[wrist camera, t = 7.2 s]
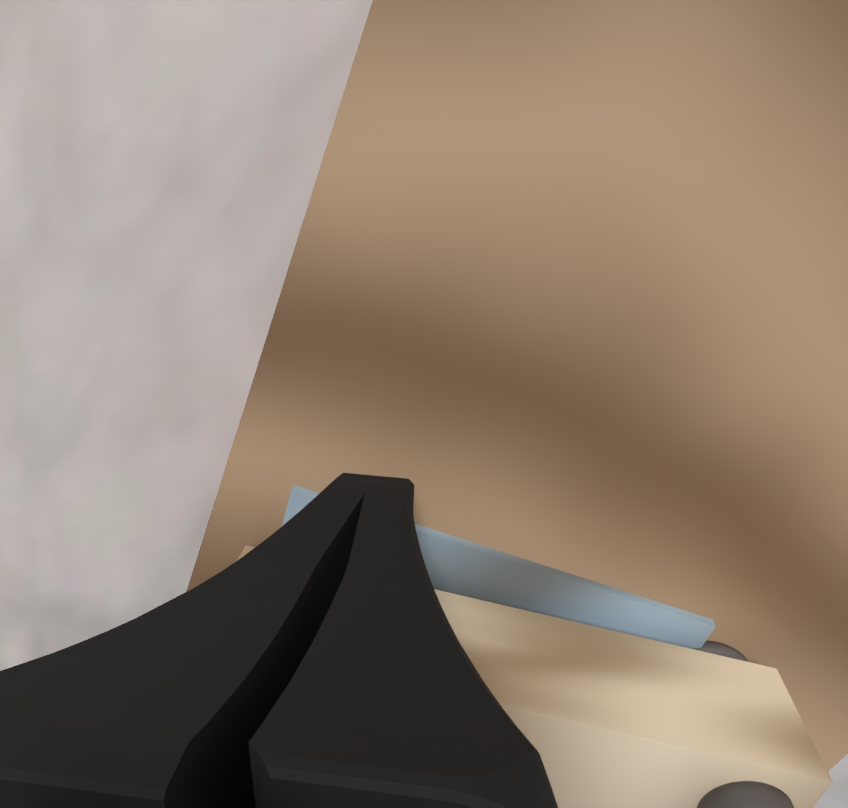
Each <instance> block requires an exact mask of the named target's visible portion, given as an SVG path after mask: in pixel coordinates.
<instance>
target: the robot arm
mask: <svg viewBox="0 0 848 808" xmlns="http://www.w3.org/2000/svg"><path fill="white" fill-rule="evenodd" d="M413 507H414V484H413V483H412V482H411V481H410V480H409V479H407V478H396V477H385V476H374V475H362V474H351V473H342V474H341V475H339V476H338V477H337V478H336V479H335V480H334V481H332V482H331V483H330V484H329V485H328V486H327V487H326V488H325V489H324V490H323V491H321V492H320V493H319V494H318V495H317V496H316V497H315V498H314V499H313V500H312V501H311V502H309V503H308V504H307V505H306V506H305V507H304V508H303V509H302V510H300V511H299V512H298V513H297V514H296V515H295V516H293V517H292V518H291V519H290V520H289V521H288V522H286V523H285V524H284V525H283V526H282V527H280V528H279V529H278V530H277V531H276V532H274V533H273V534H272V535H271V536H269V537H268V538H267V539H266V540H264V541H263V542H262V543H260V544H259V545H258V546H256V547H255V548H254V549H252V550H251V551H250V552H248V553H247V554H246V555H244V556H243V557H242V558H240V559H239V560H237V561H236V562H235V563H233V564H232V565H230V566H229V567H227V568H225V569H224V570H222V571H221V572H219V573H218V574H216V575H214V576H213V577H211V578H209V579H208V580H206V581H205V582H203V583H201V584H200V585H198V586H196V587H195V588H193V589H191V590H189V591H188V592H186V593H184V594H182V595H180V596H178V597H176V598H174V599H172V600H170V601H169V602H167V603H165V604H163V605H161V606H159V607H157V608H155V609H153V610H151V611H149V612H147V613H145V614H143V615H142V616H140V617H138V618H135V619H133V620H131V621H129V622H127V623H125V624H122V625H120V626H118V627H116V628H113V629H111V630H109V631H107V632H104V633H102V634H100V635H97V636H95V637H92V638H90V639H88V640H85V641H83V642H80V643H78V644H75V645H73V646H70V647H68V648H65V649H63V650H60V651H57V652H55V653H52V654H49V655H46V656H43V657H40V658H38V659H35V660H32V661H29V662H26V663H23V664H20V665H17V666H14V667H11V668H8V669H5V670H2V671H0V808H558V806H557V803H556V800H555V796H554V793H553V790H552V787H551V784H550V782H549V779H548V776H547V773H546V770H545V768H544V765H543V762H542V759H541V757H540V754H539V752H538V751H537V750H536V748H535V747H534V746H533V745H532V744H531V742H530V741H529V740H528V739H527V738H526V737H525V735H524V734H523V733H522V732H521V731H520V729H519V728H518V727H517V726H516V724H515V723H514V722H513V721H512V719H511V718H510V717H509V716H508V714H507V713H506V712H505V711H504V709H503V708H502V706H501V705H500V704H499V702H498V701H497V700H496V698H495V697H494V695H493V694H492V693H491V691H490V690H489V688H488V687H487V686H486V684H485V683H484V681H483V680H482V678H481V676H480V675H479V673H478V672H477V670H476V668H475V667H474V665H473V663H472V662H471V660H470V659H469V657H468V655H467V654H466V652H465V651H464V649H463V647H462V646H461V644H460V642H459V641H458V639H457V637H456V635H455V633H454V631H453V629H452V627H451V625H450V623H449V621H448V619H447V617H446V615H445V613H444V611H443V609H442V606H441V604H440V602H439V600H438V597H437V595H436V593H435V590H434V588H433V585H432V583H431V580H430V577H429V574H428V571H427V568H426V565H425V562H424V559H423V556H422V553H421V549H420V545H419V541H418V537H417V533H416V528H415V523H414V516H413Z"/></svg>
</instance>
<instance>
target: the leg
mask: <svg viewBox="0 0 848 808" xmlns="http://www.w3.org/2000/svg"><path fill="white" fill-rule="evenodd" d="M254 548H255V547H251V546H246V545H245V547H244V549H243V551H242V552H241V554H240V556H239V558H238V559H237V560H239V559H240V558H242V557H243V556H244V555H246V554H247V553H248V552H250V551H251V550H252V549H254ZM434 590H435V593H436V595H437V597H438V600H439V602H440V604H441V606H442V609H443V611H444V613H445V615H446V617H447V619H448V621H449V623H450V625H451V627H452V629H453V631H454V633H455V635H456V637H457V639H458V641H459V642H460V644H461V646H462V647H463V649H464V651H465V652H466V654H467V655H468V657H469V659H470V660H471V662H472V663H473V665H474V667H475V668H476V670H477V672H478V673H479V675H480V676H481V678H482V680H483V681H484V683H485V684H486V686H487V687H488V688H489V690H490V691H491V693H492V694H493V695H494V697H495V698H496V700H497V701H498V702H499V704H500V705H501V706H502V708H503V709H504V711H505V712H506V713H507V714H508V716H509V717H510V718H511V719H512V721H513V722H514V723H515V724H516V726H517V727H518V728H519V729H520V731H521V732H522V733H523V734H524V735H525V737H526V738H527V739H528V740H529V741H530V742H531V744H532V745H533V746H534V747H535V748H536V750H537V751H538V752H539V754H540V757H541V759H542V762H543V765H544V768H545V770H546V773H547V776H548V779H549V782H550V784H551V787H552V790H553V793H554V796H555V800H556V803H557V806H558V808H813V807H814V805H815V804H816V803H817V801H818V800H819V799H820V797H821V796H822V795H823V793H824V792H825V791H826V789H827V788H828V787H829V785H830V784H831V783H832V780H831V778H830V776H829V774H828V772H827V770H826V768H825V766H824V764H823V762H822V760H821V757H820V755H819V753H818V751H817V749H816V747H815V745H814V743H813V741H812V739H811V737H810V735H809V733H808V731H807V729H806V727H805V725H804V723H803V721H802V719H801V717H800V715H799V713H798V711H797V709H796V707H795V705H794V703H793V701H792V699H791V697H790V695H789V693H788V690H787V688H786V686H785V684H784V682H783V680H782V678H781V676H780V674H779V672H778V670H777V669H776V668H772V667H768V666H764V665H759V664H755V663H751V662H746V661H742V660H738V659H733V658H729V657H725V656H720V655H716V654H712V653H707V652H703V651H699V650H695V649H690V648H686V647H682V646H677V645H673V644H669V643H664V642H660V641H656V640H651V639H647V638H643V637H639V636H634V635H630V634H626V633H621V632H617V631H613V630H608V629H604V628H600V627H595V626H591V625H587V624H582V623H578V622H574V621H570V620H565V619H561V618H557V617H552V616H548V615H544V614H539V613H535V612H531V611H526V610H522V609H518V608H514V607H509V606H505V605H501V604H496V603H492V602H488V601H483V600H479V599H475V598H470V597H466V596H462V595H457V594H453V593H449V592H445V591H440V590H436V589H434Z"/></svg>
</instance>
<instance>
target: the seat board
mask: <svg viewBox="0 0 848 808" xmlns="http://www.w3.org/2000/svg"><path fill="white" fill-rule="evenodd" d="M342 473H351V474H362V475H374V476H385V477H396V478H407V479H409V480H410V481H411V482H412V483H413V484H414V507H413V516H414V523H415V528H416V533H417V537H418V541H419V545H420V549H421V553H422V556H423V559H424V562H425V565H426V568H427V571H428V574H429V577H430V580H431V583H432V585H433V588H434V589H436V590H440V591H445V592H449V593H453V594H457V595H462V596H466V597H470V598H475V599H479V600H483V601H488V602H492V603H496V604H501V605H505V606H509V607H514V608H518V609H522V610H526V611H531V612H535V613H539V614H544V615H548V616H552V617H557V618H561V619H565V620H570V621H574V622H578V623H582V624H587V625H591V626H595V627H600V628H604V629H608V630H613V631H617V632H621V633H626V634H630V635H634V636H639V637H643V638H647V639H651V640H656V641H660V642H664V643H669V644H673V645H677V646H682V647H686V648H690V649H695V650H699V651H703V652H707V653H712V654H716V655H720V656H725V657H729V658H733V659H738V660H742V661H746V662H751V663H755V664H759V665H764V666H768V667H772V668H776V669H777V670H778V672H779V674H780V676H781V678H782V680H783V682H784V684H785V686H786V688H787V690H788V693H789V695H790V697H791V699H792V701H793V703H794V705H795V707H796V709H797V711H798V713H799V715H800V717H801V719H802V721H803V723H804V725H805V727H806V729H807V731H808V733H809V735H810V737H811V739H812V741H813V743H814V745H815V747H816V749H817V751H818V753H819V755H820V757H821V760H822V762H823V764H824V766H825V768H826V770H827V772H828V771H829V770H830V769H831V768H832V767H833V766H834V765H835V764H837V763H838V762H839V761H840V760H841V759H842V758H843V757H844V756H845V755H847V754H848V0H373V2H372V5H371V8H370V11H369V15H368V18H367V21H366V24H365V27H364V30H363V34H362V37H361V40H360V43H359V46H358V50H357V53H356V56H355V59H354V62H353V65H352V69H351V72H350V75H349V78H348V81H347V84H346V88H345V91H344V94H343V97H342V100H341V103H340V107H339V110H338V113H337V116H336V119H335V122H334V126H333V129H332V132H331V135H330V138H329V141H328V145H327V148H326V151H325V154H324V157H323V161H322V164H321V167H320V170H319V173H318V176H317V180H316V183H315V186H314V189H313V192H312V195H311V199H310V202H309V205H308V208H307V211H306V214H305V218H304V221H303V224H302V227H301V230H300V233H299V237H298V240H297V243H296V246H295V249H294V252H293V256H292V259H291V262H290V265H289V268H288V272H287V275H286V278H285V281H284V284H283V287H282V291H281V294H280V297H279V300H278V303H277V306H276V310H275V313H274V316H273V319H272V322H271V325H270V329H269V332H268V335H267V338H266V341H265V344H264V348H263V351H262V354H261V357H260V360H259V364H258V367H257V370H256V373H255V376H254V379H253V383H252V386H251V389H250V392H249V395H248V398H247V402H246V405H245V408H244V411H243V414H242V417H241V421H240V424H239V427H238V430H237V433H236V436H235V440H234V443H233V446H232V449H231V452H230V455H229V459H228V462H227V465H226V468H225V471H224V475H223V478H222V481H221V484H220V487H219V490H218V494H217V497H216V500H215V503H214V506H213V509H212V513H211V516H210V519H209V522H208V525H207V528H206V532H205V535H204V538H203V541H202V544H201V547H200V551H199V554H198V557H197V560H196V563H195V566H194V570H193V573H192V576H191V579H190V582H189V586H188V589H187V592H188V591H189V590H191V589H193V588H195V587H196V586H198V585H200V584H201V583H203V582H205V581H206V580H208V579H209V578H211V577H213V576H214V575H216V574H218V573H219V572H221V571H222V570H224V569H225V568H227V567H229V566H230V565H232V564H233V563H235V562H236V561H237V559H238V558H239V556H240V554H241V552H242V551H243V549H244V547H245V545H246V546H251V547H256V546H258V545H259V544H260V543H262V542H263V541H264V540H266V539H267V538H268V537H269V536H271V535H272V534H273V533H274V532H276V531H277V530H278V529H279V528H280V527H282V526H283V525H284V524H285V523H286V522H288V521H289V520H290V519H291V518H292V517H293V516H295V515H296V514H297V513H298V512H299V511H300V510H302V509H303V508H304V507H305V506H306V505H307V504H308V503H309V502H311V501H312V500H313V499H314V498H315V497H316V496H317V495H318V494H319V493H320V492H321V491H323V490H324V489H325V488H326V487H327V486H328V485H329V484H330V483H331V482H332V481H334V480H335V479H336V478H337V477H338V476H339V475H341V474H342Z"/></svg>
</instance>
